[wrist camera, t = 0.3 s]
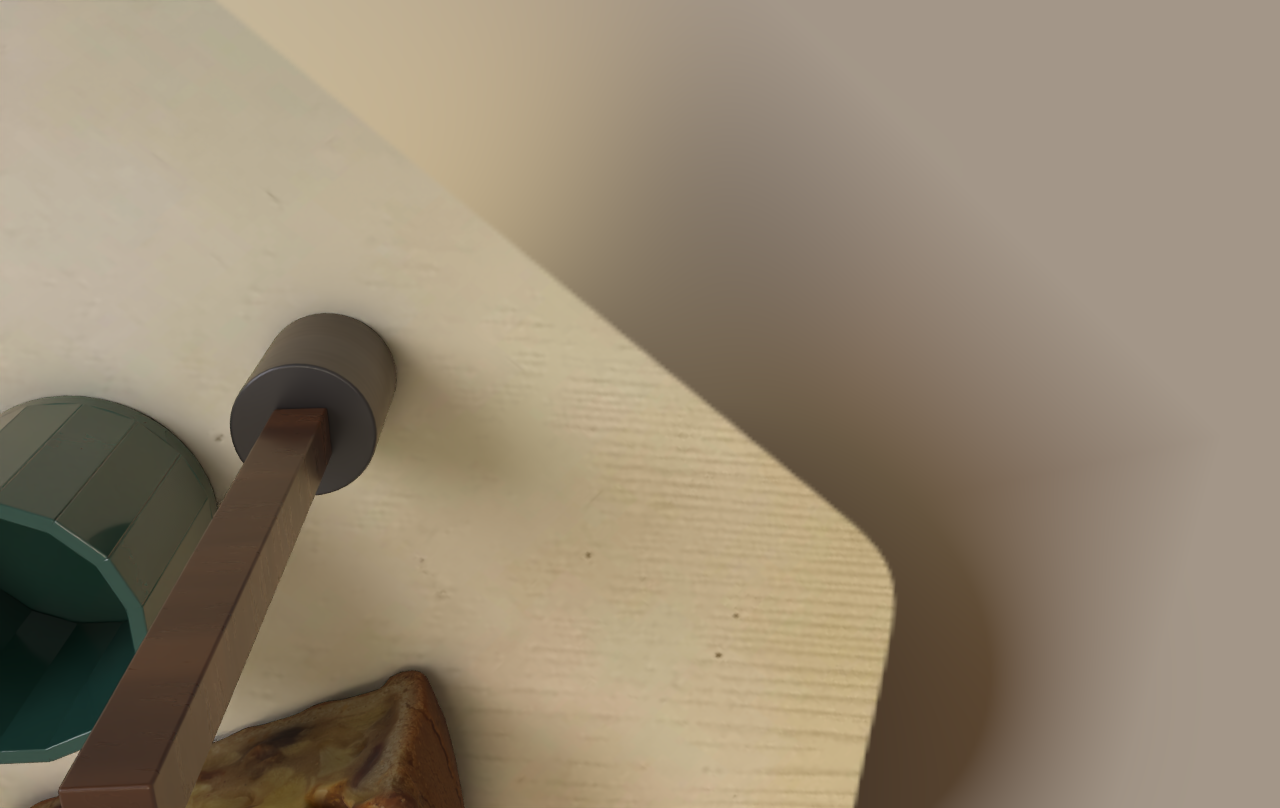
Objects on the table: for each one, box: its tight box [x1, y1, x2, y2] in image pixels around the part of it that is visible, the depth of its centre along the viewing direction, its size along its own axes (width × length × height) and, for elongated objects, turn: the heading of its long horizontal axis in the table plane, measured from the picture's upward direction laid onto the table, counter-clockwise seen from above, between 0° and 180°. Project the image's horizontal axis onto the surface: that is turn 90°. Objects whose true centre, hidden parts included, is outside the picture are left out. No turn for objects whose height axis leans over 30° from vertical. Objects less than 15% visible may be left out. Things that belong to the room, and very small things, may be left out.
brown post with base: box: [58, 313, 396, 808], centre depth 31 cm, size 4×4×22 cm
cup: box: [0, 396, 217, 764], centre depth 39 cm, size 9×9×8 cm
